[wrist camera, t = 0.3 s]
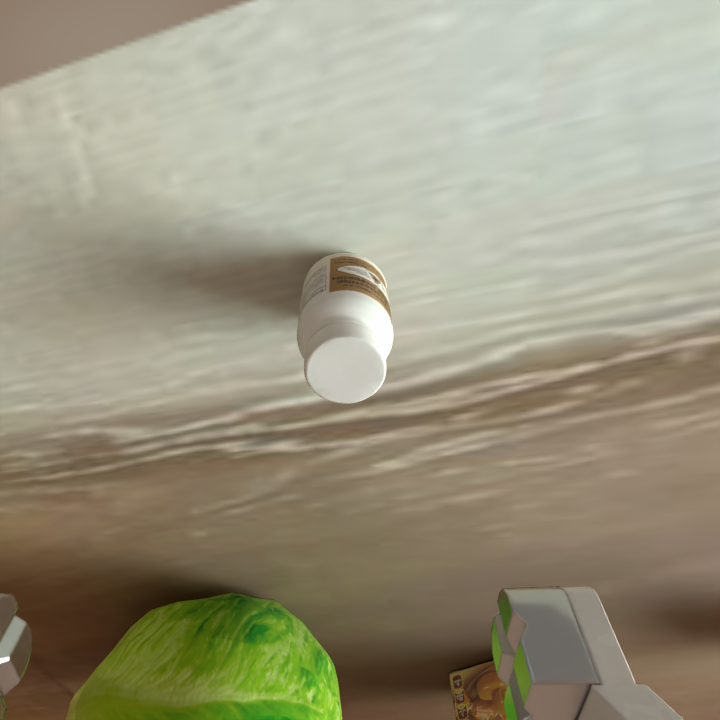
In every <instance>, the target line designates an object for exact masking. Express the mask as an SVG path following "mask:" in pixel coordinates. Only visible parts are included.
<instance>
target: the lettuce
mask: <svg viewBox="0 0 720 720" xmlns="http://www.w3.org/2000/svg"><path fill="white" fill-rule="evenodd" d="M66 720H342V713H341V704H340V695H339V686H338V680H337V676H336V671H335V667H334V664H333V662H332V660H331V659H330V657H329V655H328V654H327V653H326V651H325V650H324V649H323V647H322V646H321V645H320V644H319V642H318V641H317V640H316V639H315V637H314V636H313V635H312V633H311V632H310V631H309V630H308V628H307V627H306V626H305V625H304V623H303V622H302V621H300V620H299V619H298V618H297V617H295V616H294V615H293V614H292V613H290V612H289V611H288V610H287V609H285V608H284V607H283V606H282V605H280V604H279V603H278V602H276V601H275V600H274V599H259V598H255V597H250V596H246V595H242V594H238V593H234V592H232V593H228V594H223V595H219V596H214V597H210V598H205V599H196V600H188V601H180V602H176V603H172V604H169V605H166V606H163V607H159V608H156V609H153V610H150V611H149V612H148V613H147V614H146V615H144V616H143V617H142V618H141V619H140V620H139V621H137V622H136V623H135V624H134V625H133V626H132V627H130V629H129V630H128V631H127V632H126V634H125V635H124V636H123V637H122V639H121V640H120V641H119V642H118V644H117V645H116V646H115V647H114V649H113V650H112V651H111V652H110V653H109V654H108V656H107V657H106V658H105V659H104V660H103V661H102V663H101V664H100V665H99V666H98V667H97V668H96V669H95V671H94V672H93V673H92V674H91V676H90V677H89V678H88V680H87V681H86V682H85V684H84V685H83V686H82V687H81V688H80V689H79V690H78V691H77V692H76V693H75V695H74V697H73V699H72V701H71V703H70V706H69V711H68V715H67V717H66Z"/></svg>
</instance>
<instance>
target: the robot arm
mask: <svg viewBox="0 0 720 720" xmlns="http://www.w3.org/2000/svg"><path fill="white" fill-rule="evenodd" d="M497 602H498V606H499V610H500V613H499V614H497V615H496V616H495V617H494V618H493V624H492V630H491V633H492V653H493V660H494V665H495V669H496V674H497V676H498V677H499V678H500V679H501V680H502V681H503V683H504V684H505V685H506V686H507V689H506V693H505V697H504V701H503V705H504V710H505V714H506V718H507V720H684V719H683V718H682V717H681V716H679V715H678V714H677V713H676V712H675V711H674V710H673V709H672V708H671V707H670V706H669V705H667V704H666V703H665V702H664V701H663V700H662V699H661V698H660V697H659V696H658V695H657V694H656V693H654V692H653V691H652V690H651V689H650V688H649V687H648V686H647V685H646V684H636V682H635V680H634V678H633V675H632V673H631V671H630V668H629V666H628V664H627V661H626V659H625V657H624V654H623V652H622V650H621V647H620V645H619V643H618V641H617V638H616V636H615V634H614V631H613V629H612V627H611V624H610V622H609V620H608V617H607V615H606V613H605V610H604V608H603V606H602V603H601V601H600V599H599V596H598V594H597V593H596V591H595V590H594V589H593V588H592V587H561V588H560V587H559V586H555V587H517V588H502V589H501V591H500V592H499V596H498V600H497ZM18 607H19V605H18V603H17V601H16V599H15V598H14V596H13V594H11V593H0V720H2V719H3V717H4V715H5V713H6V711H7V709H6V704H5V699H4V695H5V694H6V693H8V692H9V691H10V690H11V689H12V688H13V687H15V686H16V685H17V684H18V683H19V682H20V681H21V679H22V677H23V674H24V672H25V670H26V668H27V666H28V663H29V659H30V654H31V649H32V634H31V630H30V628H29V625H28V623H27V622H26V621H24V620H22V619H21V618H19V617H18V616H16V615H15V613H16V611H17V609H18Z"/></svg>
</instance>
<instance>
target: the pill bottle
mask: <svg viewBox="0 0 720 720" xmlns="http://www.w3.org/2000/svg"><path fill="white" fill-rule="evenodd" d="M297 341H298V346H299V350H300V352H301V354H302V356H303V358H304V359H305V361H304V372H305V377H306V380H307V383H308V384H309V386H310V387H311V389H312V390H313V391H314V392H315V393H316V394H318V395H319V396H320V397H322V398H324V399H326V400H329V401H332V402H336V403H355V402H359V401H362V400H364V399H366V398H368V397H370V396H371V395H373V394H374V393H375V392H376V391H377V390H378V389H379V388H380V387H381V385H382V383H383V381H384V379H385V375H386V358H387V356H388V354H389V352H390V350H391V347H392V343H393V326H392V319H391V312H390V305H389V298H388V293H387V285H386V281H385V278H384V276H383V274H382V272H381V271H380V270H379V268H378V267H377V266H376V265H375V264H374V263H373V262H372V261H370V260H369V259H367V258H365V257H363V256H361V255H358V254H355V253H336V254H331V255H329V256H326V257H324V258H322V259H321V260H319V261H318V262H317V263H315V264H314V265H313V267H312V268H311V269H310V270H309V272H308V274H307V276H306V278H305V281H304V286H303V291H302V298H301V306H300V313H299V321H298V329H297Z"/></svg>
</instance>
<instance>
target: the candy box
mask: <svg viewBox="0 0 720 720" xmlns="http://www.w3.org/2000/svg"><path fill="white" fill-rule="evenodd" d="M449 678H450V684H451V690H452V696H453V704H454V710H455V716H456V720H507V718H506V714H505V710H504V705H503V701H504V697H505V693H506V689H507V686H506V685H505V684H504V683H503V681H502V680H501V679H500V678H499V677H498V676H497V674H496V669H495V665H494V661H491V662H487V663H483V664H480V665H476V666H473V667H470V668H467V669H463V670H458V671H454V672H451V673H450V676H449Z"/></svg>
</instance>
